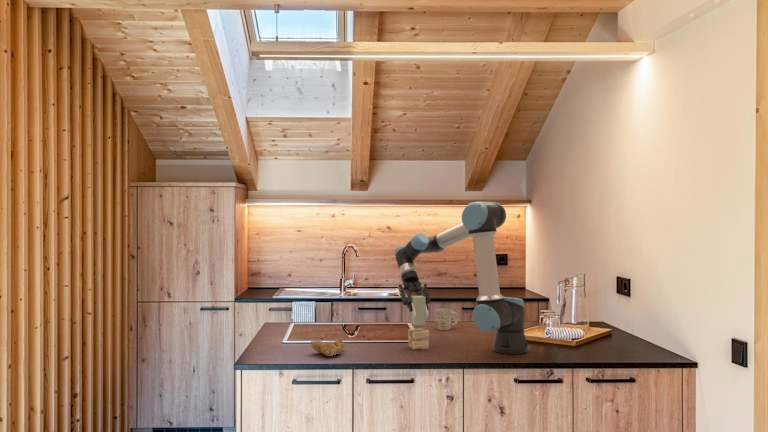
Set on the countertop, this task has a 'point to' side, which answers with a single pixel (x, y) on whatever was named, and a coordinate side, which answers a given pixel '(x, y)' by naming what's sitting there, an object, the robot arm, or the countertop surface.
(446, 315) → the mug
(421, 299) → the pale green block
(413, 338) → the slab upper
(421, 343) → the beige wooden block
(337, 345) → the ginger root
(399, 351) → the countertop surface
